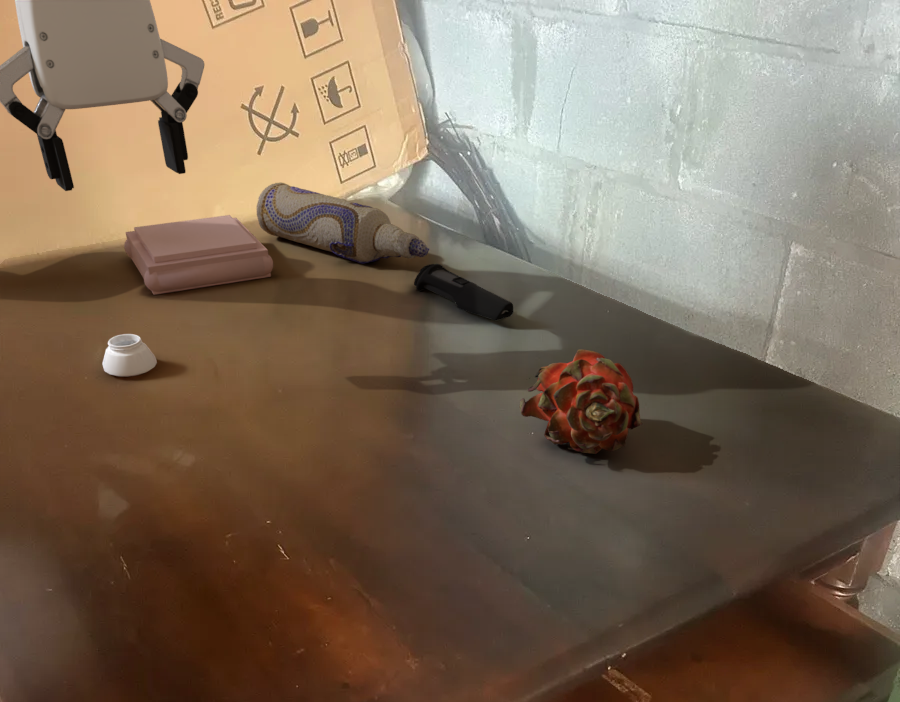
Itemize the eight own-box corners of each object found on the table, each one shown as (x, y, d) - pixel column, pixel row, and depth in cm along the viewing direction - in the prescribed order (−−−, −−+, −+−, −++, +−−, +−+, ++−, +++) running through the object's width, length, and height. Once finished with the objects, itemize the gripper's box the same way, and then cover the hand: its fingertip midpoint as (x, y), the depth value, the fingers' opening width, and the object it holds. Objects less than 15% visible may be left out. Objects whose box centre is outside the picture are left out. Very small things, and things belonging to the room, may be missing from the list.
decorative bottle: (255, 242, 120) (248, 187, 115) (297, 228, 124) (292, 176, 120) (404, 286, 107) (403, 227, 103) (444, 269, 112) (445, 212, 108)
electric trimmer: (493, 334, 97) (494, 305, 95) (411, 289, 106) (410, 262, 104) (520, 326, 99) (522, 297, 97) (437, 282, 108) (437, 255, 106)
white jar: (140, 353, 92) (95, 368, 90) (134, 325, 90) (87, 340, 88) (167, 368, 90) (121, 384, 87) (161, 340, 88) (113, 355, 85)
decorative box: (149, 297, 104) (142, 263, 102) (125, 257, 115) (118, 225, 112) (277, 277, 109) (273, 244, 107) (243, 240, 120) (238, 209, 118)
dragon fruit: (613, 496, 75) (537, 450, 84) (684, 419, 74) (600, 382, 84) (561, 429, 69) (485, 388, 79) (638, 347, 69) (553, 315, 78)
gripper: (165, -73, 74) (201, 156, 85) (-64, -66, 67) (7, 183, 77) (199, -69, 69) (233, 173, 80) (-44, -61, 62) (29, 205, 72)
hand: (122, 178), depth 79 cm, fingers open, 9 cm apart
